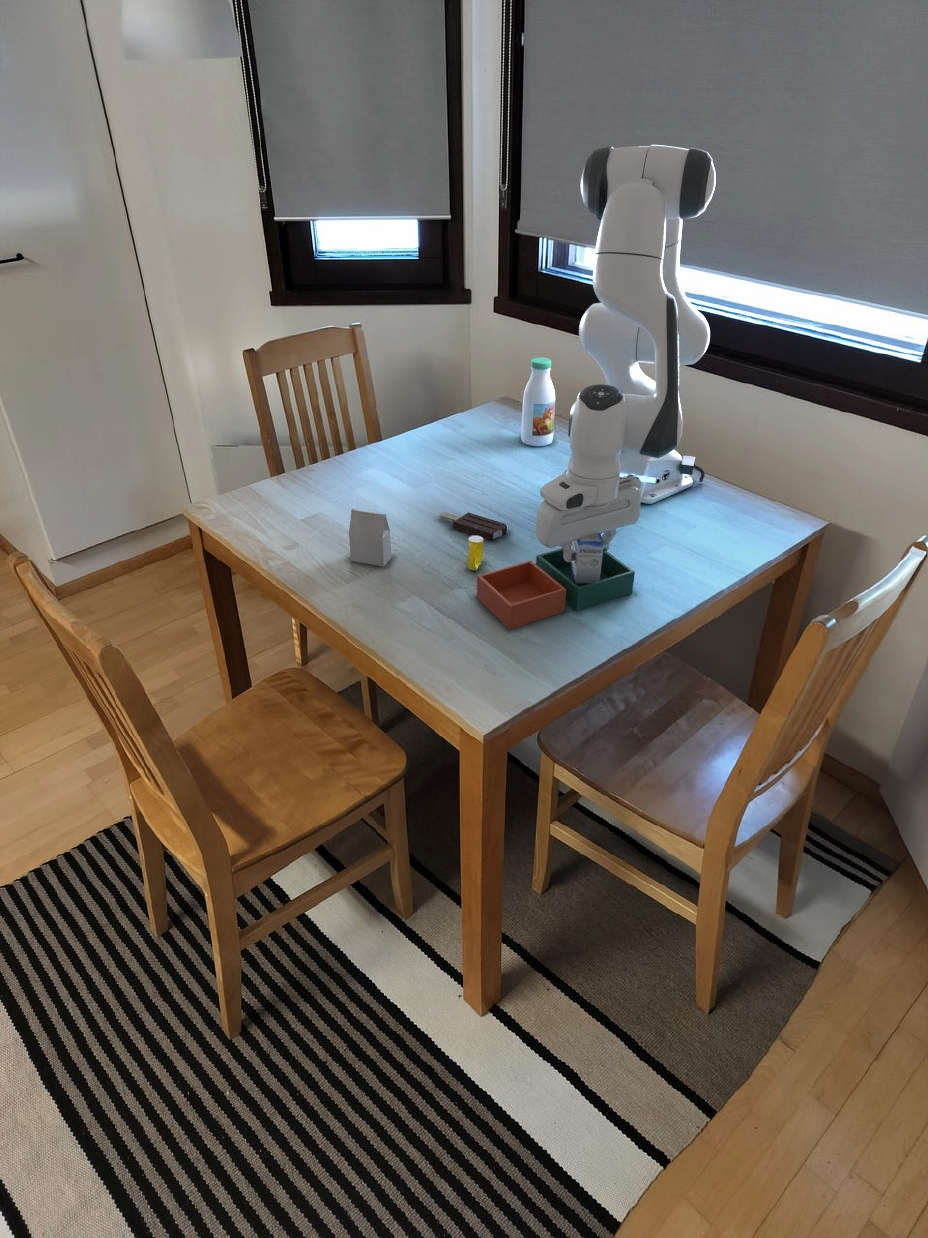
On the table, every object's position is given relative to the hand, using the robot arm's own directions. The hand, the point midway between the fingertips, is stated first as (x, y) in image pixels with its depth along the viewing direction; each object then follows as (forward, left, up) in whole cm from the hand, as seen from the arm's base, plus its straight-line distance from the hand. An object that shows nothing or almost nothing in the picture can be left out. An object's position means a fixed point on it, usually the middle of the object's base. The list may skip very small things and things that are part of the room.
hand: (585, 555), depth 155 cm
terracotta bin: (+14, 0, -6) cm, 15 cm away
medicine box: (0, 0, -4) cm, 4 cm away
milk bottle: (-29, -60, -6) cm, 67 cm away
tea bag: (+30, -27, -6) cm, 41 cm away
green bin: (0, 0, -6) cm, 6 cm away
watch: (+14, -15, -6) cm, 21 cm away
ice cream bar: (+7, -29, -6) cm, 30 cm away
